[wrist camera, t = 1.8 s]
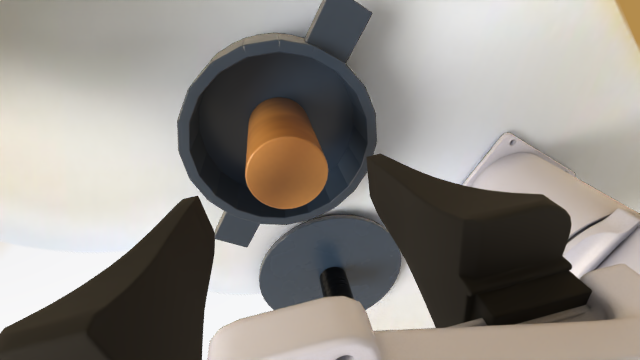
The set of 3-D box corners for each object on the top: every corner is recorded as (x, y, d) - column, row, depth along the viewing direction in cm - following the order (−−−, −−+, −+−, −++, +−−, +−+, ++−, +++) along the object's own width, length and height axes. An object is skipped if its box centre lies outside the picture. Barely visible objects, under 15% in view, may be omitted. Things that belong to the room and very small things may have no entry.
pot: (413, 47, 20) (442, 56, 17) (298, 236, 26) (303, 269, 23) (247, -62, 16) (244, -76, 13) (156, 194, 22) (140, 227, 19)
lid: (423, 234, 29) (448, 271, 25) (352, 322, 33) (364, 364, 30) (299, 189, 24) (307, 226, 20) (237, 299, 29) (234, 346, 25)
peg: (319, 113, 21) (343, 156, 15) (293, 162, 22) (305, 218, 17) (263, 85, 19) (266, 122, 14) (239, 141, 21) (232, 194, 15)
